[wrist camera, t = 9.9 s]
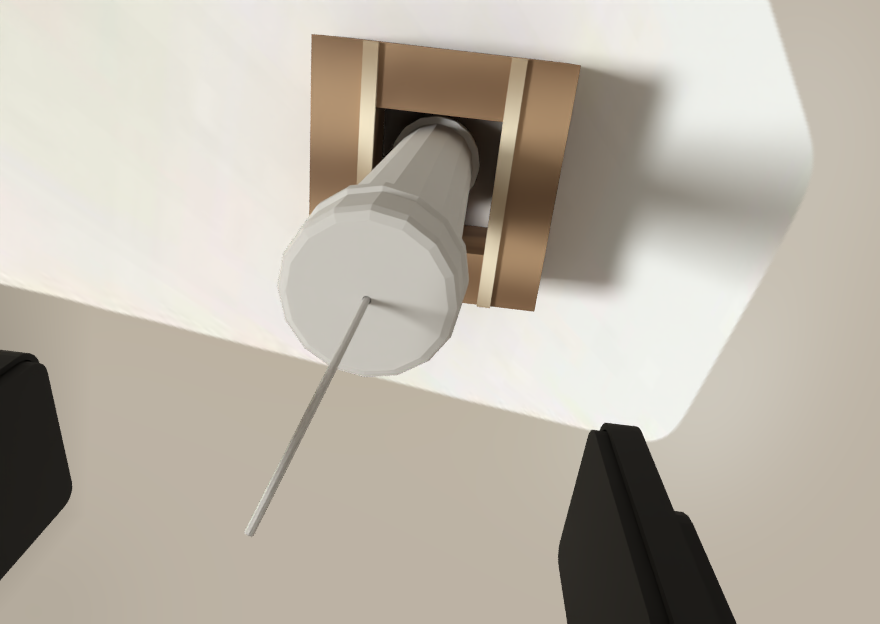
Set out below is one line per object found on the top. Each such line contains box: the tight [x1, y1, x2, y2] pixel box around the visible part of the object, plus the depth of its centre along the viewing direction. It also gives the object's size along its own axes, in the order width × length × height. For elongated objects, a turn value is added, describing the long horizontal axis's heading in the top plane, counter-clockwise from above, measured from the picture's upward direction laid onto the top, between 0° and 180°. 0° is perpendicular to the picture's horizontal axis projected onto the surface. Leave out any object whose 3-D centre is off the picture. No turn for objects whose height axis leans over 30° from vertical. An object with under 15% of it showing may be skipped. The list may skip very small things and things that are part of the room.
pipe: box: [244, 115, 480, 536], centre depth 25 cm, size 6×6×30 cm
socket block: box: [309, 34, 581, 311], centre depth 36 cm, size 14×14×6 cm
